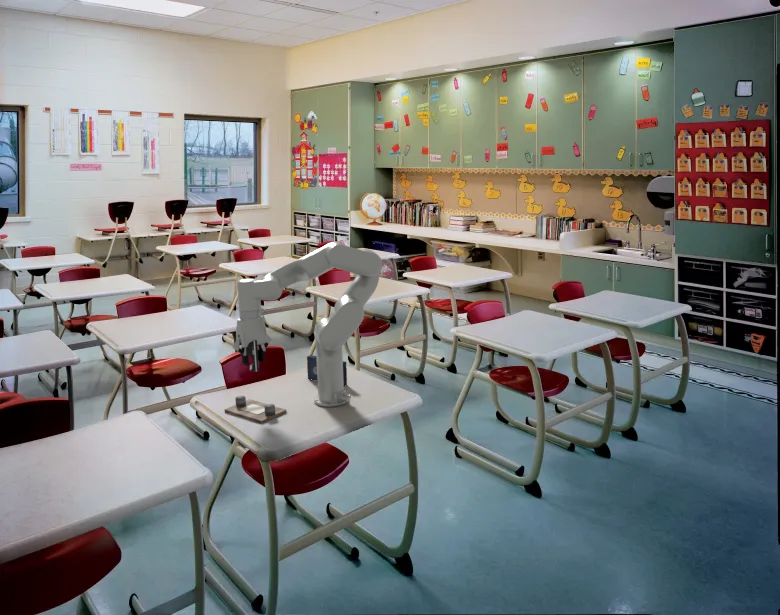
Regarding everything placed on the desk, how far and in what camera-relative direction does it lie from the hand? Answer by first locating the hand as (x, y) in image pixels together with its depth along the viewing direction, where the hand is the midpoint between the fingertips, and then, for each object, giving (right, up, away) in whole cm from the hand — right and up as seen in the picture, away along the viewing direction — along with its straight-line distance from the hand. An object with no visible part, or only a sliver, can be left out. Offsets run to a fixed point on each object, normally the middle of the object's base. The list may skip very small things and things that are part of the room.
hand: (253, 362), depth 228 cm
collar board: (0, -18, +1) cm, 18 cm away
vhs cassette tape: (+23, -11, +30) cm, 40 cm away
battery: (0, -3, 0) cm, 3 cm away
